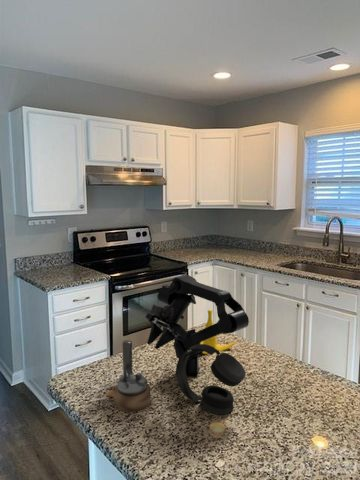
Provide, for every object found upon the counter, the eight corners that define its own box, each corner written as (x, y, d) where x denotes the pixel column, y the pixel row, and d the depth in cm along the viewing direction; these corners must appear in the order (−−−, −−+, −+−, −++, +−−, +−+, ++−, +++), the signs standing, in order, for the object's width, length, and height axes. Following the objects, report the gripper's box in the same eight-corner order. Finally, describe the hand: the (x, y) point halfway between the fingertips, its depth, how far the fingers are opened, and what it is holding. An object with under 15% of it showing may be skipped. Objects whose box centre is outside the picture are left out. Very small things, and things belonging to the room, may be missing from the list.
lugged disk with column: (150, 403, 109) (149, 355, 108) (120, 408, 107) (119, 359, 105) (140, 381, 123) (139, 338, 121) (113, 385, 120) (112, 342, 118)
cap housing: (154, 394, 117) (154, 382, 116) (144, 413, 106) (144, 400, 105) (111, 389, 120) (111, 377, 119) (97, 408, 109) (97, 395, 108)
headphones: (252, 362, 107) (195, 330, 115) (242, 374, 99) (182, 339, 108) (234, 412, 111) (180, 377, 120) (223, 426, 104) (167, 389, 113)
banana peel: (236, 349, 151) (237, 310, 149) (196, 358, 143) (196, 317, 141) (216, 336, 166) (216, 300, 164) (178, 343, 158) (178, 306, 156)
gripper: (149, 290, 133) (123, 326, 128) (180, 301, 119) (153, 342, 113) (166, 307, 139) (142, 342, 133) (198, 320, 124) (173, 359, 119)
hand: (151, 346), depth 124 cm, fingers open, 4 cm apart
